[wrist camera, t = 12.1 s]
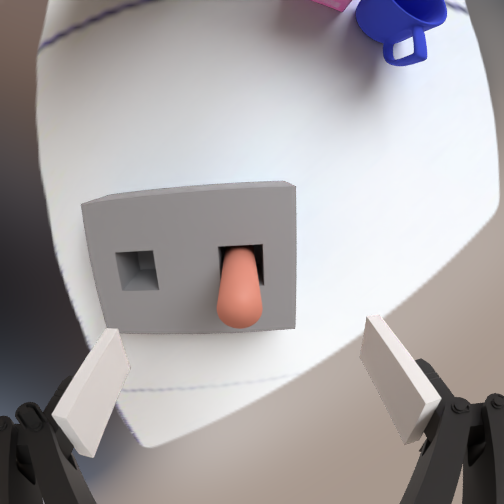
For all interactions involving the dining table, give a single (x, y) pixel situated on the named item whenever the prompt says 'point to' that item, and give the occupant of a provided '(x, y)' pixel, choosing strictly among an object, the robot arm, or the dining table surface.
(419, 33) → the mug
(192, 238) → the hole block
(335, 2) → the gum box
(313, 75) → the dining table surface
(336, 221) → the dining table surface
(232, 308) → the pin
